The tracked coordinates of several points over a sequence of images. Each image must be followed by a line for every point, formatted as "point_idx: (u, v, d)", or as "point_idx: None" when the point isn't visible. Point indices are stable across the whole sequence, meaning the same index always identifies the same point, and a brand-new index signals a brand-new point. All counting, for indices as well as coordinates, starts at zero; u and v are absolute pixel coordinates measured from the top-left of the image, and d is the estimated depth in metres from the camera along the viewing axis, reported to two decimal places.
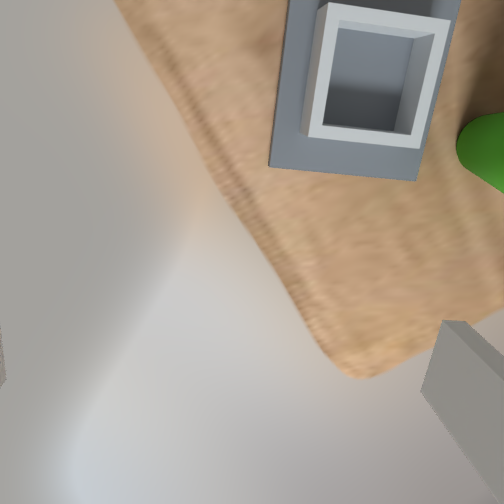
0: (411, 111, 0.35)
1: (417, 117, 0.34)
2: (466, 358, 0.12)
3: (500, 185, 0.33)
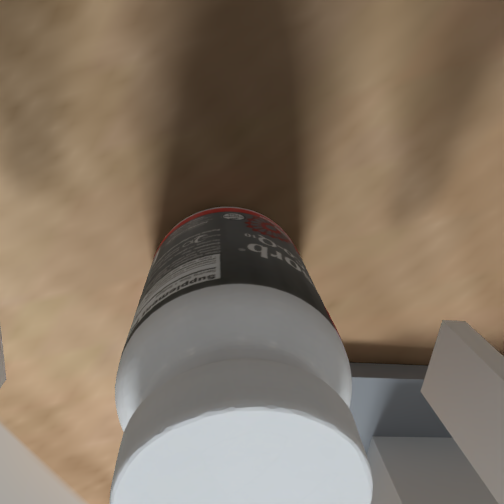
0: None
1: None
2: (466, 359, 0.12)
3: None
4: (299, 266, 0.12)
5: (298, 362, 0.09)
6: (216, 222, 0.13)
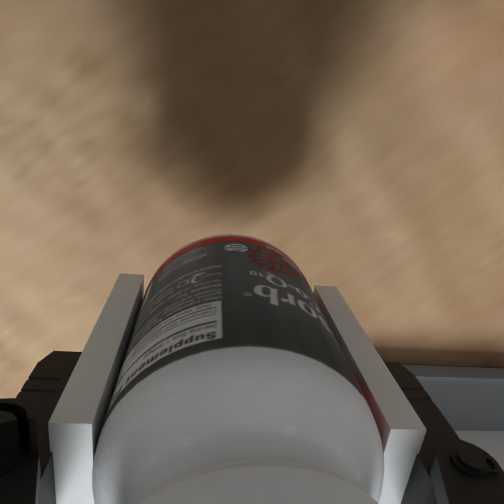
0: None
1: None
2: None
3: None
4: (314, 310, 0.10)
5: (323, 453, 0.07)
6: (217, 256, 0.12)
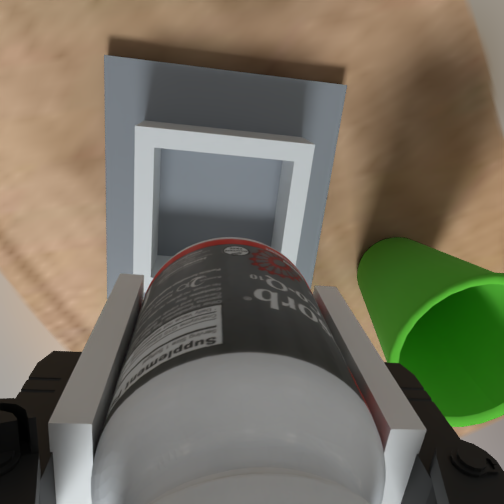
0: None
1: None
2: None
3: None
4: (315, 313, 0.10)
5: (324, 460, 0.07)
6: (217, 259, 0.11)
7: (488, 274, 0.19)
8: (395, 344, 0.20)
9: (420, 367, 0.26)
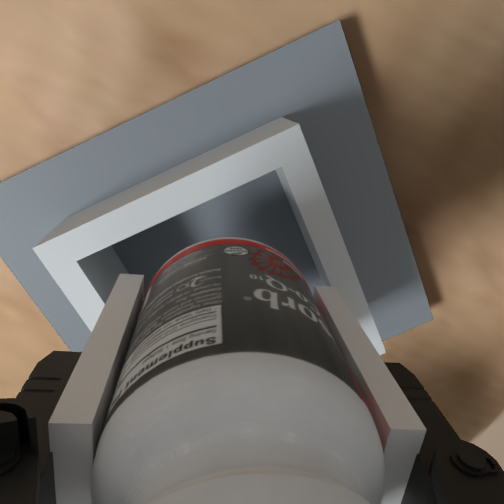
0: None
1: None
2: (323, 317, 0.13)
3: None
4: (314, 313, 0.10)
5: (323, 459, 0.07)
6: (217, 258, 0.11)
7: None
8: None
9: None
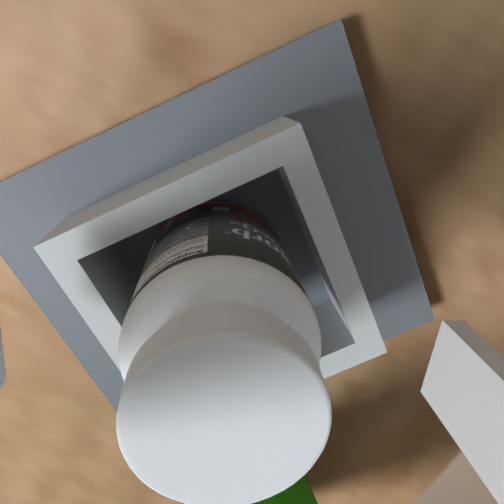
0: None
1: None
2: (466, 358, 0.12)
3: None
4: (278, 248, 0.14)
5: (272, 317, 0.10)
6: (206, 213, 0.15)
7: None
8: None
9: None
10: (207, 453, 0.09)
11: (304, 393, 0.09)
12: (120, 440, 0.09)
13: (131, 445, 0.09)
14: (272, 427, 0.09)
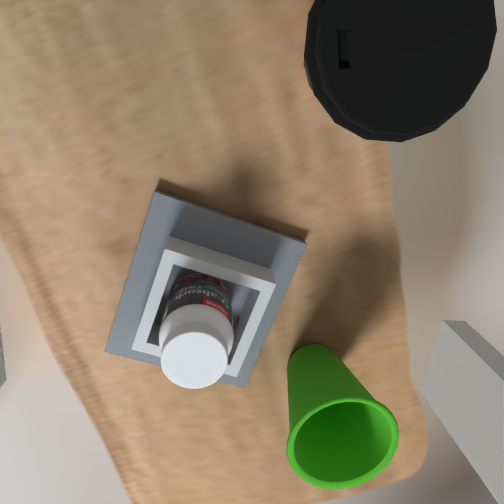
0: (236, 342, 0.37)
1: (237, 352, 0.37)
2: (466, 359, 0.12)
3: None
4: (196, 289, 0.34)
5: (189, 322, 0.30)
6: (171, 294, 0.36)
7: (358, 396, 0.32)
8: (295, 427, 0.32)
9: (312, 442, 0.37)
10: (196, 370, 0.29)
11: (201, 338, 0.29)
12: None
13: (177, 381, 0.30)
14: (204, 351, 0.29)
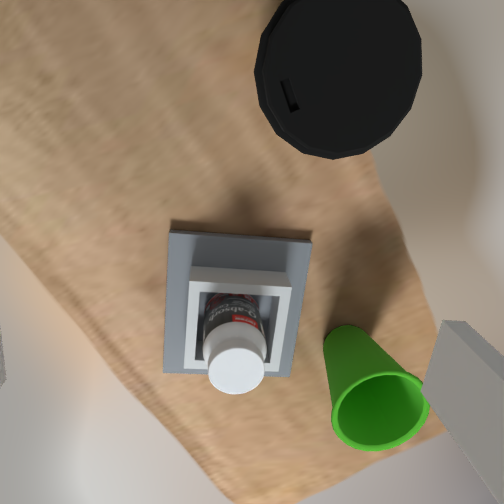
0: (271, 342, 0.42)
1: (273, 351, 0.42)
2: (466, 359, 0.12)
3: None
4: (224, 308, 0.39)
5: (224, 340, 0.35)
6: (205, 315, 0.41)
7: (383, 370, 0.36)
8: (334, 406, 0.37)
9: (357, 413, 0.42)
10: (240, 378, 0.35)
11: (237, 352, 0.34)
12: None
13: (227, 390, 0.35)
14: (242, 362, 0.34)
